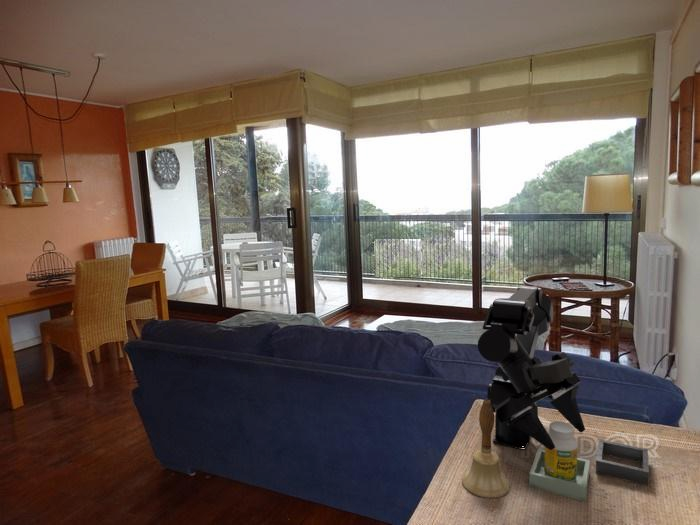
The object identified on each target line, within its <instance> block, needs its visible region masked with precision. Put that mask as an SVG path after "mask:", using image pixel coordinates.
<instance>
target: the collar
mask: <svg viewBox="0 0 700 525" xmlns="http://www.w3.org/2000/svg"><path fill="white" fill-rule="evenodd" d="M604 455H605V456H611V457H615V458H620V459H624V460H629V461H632V462H638V463H641V467H637V466H633V465H632V466H631V465H627V464H624V463H619V462H614V461H610V460H606V459H603V457H604ZM649 468H650V466H649V450H648V449H647V448H643V447H638V446H633V445H629V444H623V443H619V442H616V441H615V442H614V441H609V440H606V439H605V440H603V439H598V445H597V452H596V461H595V474H599V475H602V476H603V475H604V476H606V477H609V478H610V477H612V478H616V479H619V480H623V481H628V482H631V483H636V484H640V485H644V486H649V478H650V477H649V476H650V475H649V474H650V471H649V470H650V469H649Z"/></svg>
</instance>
